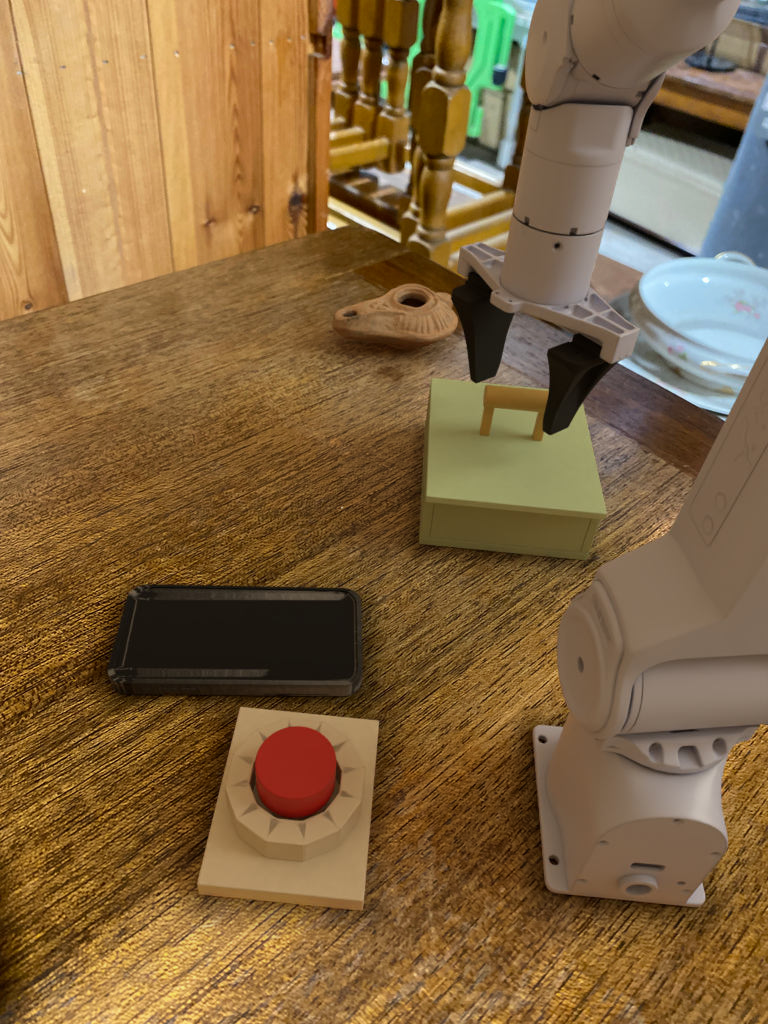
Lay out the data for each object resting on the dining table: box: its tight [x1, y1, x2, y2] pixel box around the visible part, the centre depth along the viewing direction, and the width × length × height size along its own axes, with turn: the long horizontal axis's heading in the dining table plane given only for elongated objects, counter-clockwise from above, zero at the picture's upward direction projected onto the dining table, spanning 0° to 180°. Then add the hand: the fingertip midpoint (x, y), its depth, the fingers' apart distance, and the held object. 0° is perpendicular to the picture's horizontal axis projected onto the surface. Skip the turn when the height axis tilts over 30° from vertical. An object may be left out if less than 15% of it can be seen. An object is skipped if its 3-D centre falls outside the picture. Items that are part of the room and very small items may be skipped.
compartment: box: [418, 384, 601, 561], centre depth 61 cm, size 14×12×5 cm
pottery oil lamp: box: [330, 283, 459, 351], centre depth 77 cm, size 9×12×7 cm
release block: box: [196, 706, 380, 912], centre depth 41 cm, size 10×8×3 cm
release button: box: [255, 726, 336, 818], centre depth 39 cm, size 4×4×2 cm
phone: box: [107, 583, 364, 697], centre depth 49 cm, size 8×1×15 cm
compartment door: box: [425, 377, 608, 521], centre depth 58 cm, size 15×12×5 cm
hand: (517, 402), depth 57 cm, fingers open, 7 cm apart
